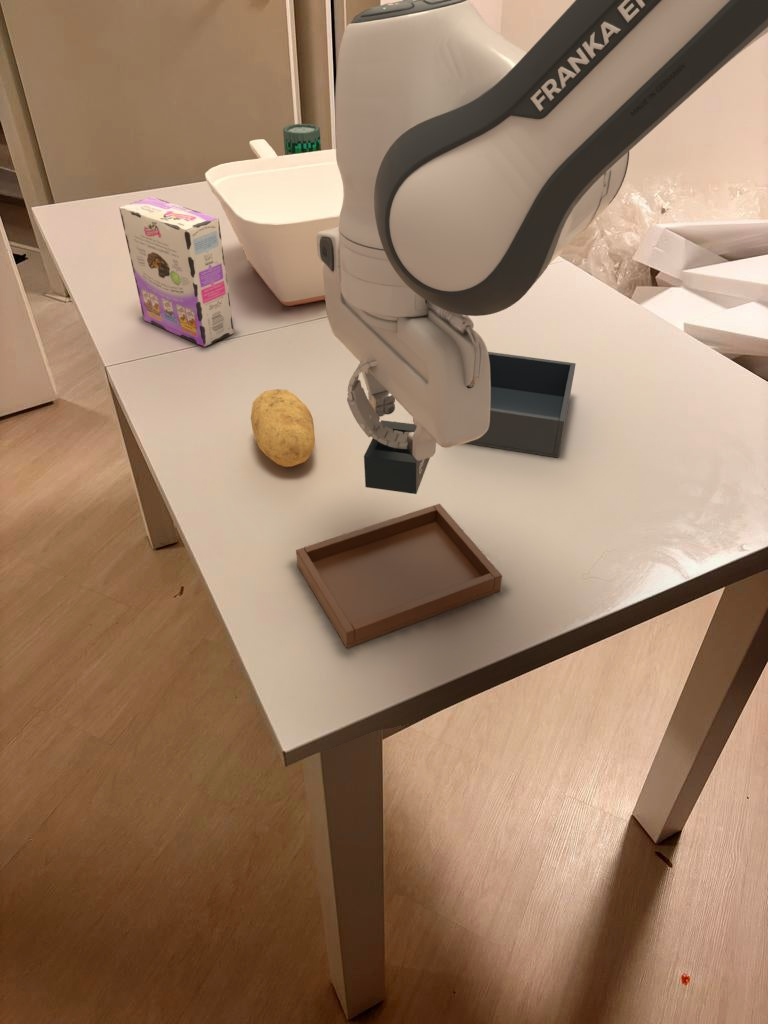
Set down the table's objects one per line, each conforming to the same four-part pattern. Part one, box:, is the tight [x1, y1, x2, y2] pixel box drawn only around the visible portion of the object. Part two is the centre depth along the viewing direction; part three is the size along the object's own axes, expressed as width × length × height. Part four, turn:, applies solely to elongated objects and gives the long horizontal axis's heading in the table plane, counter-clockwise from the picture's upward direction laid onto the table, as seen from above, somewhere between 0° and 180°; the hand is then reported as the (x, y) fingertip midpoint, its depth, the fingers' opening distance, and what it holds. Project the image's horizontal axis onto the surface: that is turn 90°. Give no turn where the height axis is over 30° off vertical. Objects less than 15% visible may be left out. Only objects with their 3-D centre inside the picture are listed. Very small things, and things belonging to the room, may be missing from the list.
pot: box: [204, 138, 343, 307], centre depth 128 cm, size 29×44×15 cm, turn 24°
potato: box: [250, 388, 316, 468], centre depth 89 cm, size 7×11×6 cm, turn 18°
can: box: [282, 123, 322, 155], centre depth 144 cm, size 6×6×15 cm
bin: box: [466, 351, 577, 459], centre depth 95 cm, size 13×13×5 cm
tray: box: [295, 503, 503, 649], centre depth 75 cm, size 16×12×2 cm
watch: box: [346, 358, 431, 495], centre depth 65 cm, size 6×8×11 cm
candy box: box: [118, 196, 235, 348], centre depth 109 cm, size 14×6×16 cm, turn 51°
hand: (400, 431), depth 65 cm, fingers closed on watch, 5 cm apart
